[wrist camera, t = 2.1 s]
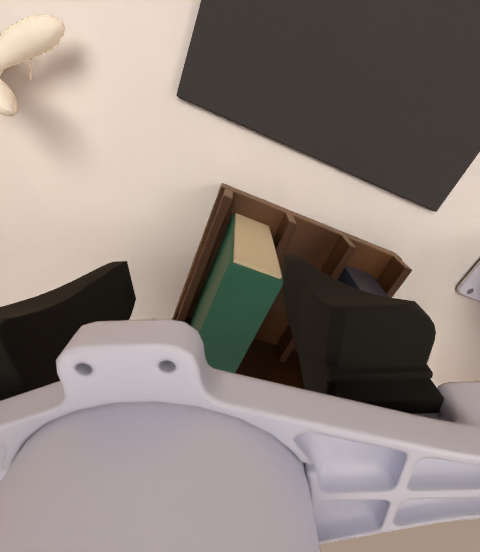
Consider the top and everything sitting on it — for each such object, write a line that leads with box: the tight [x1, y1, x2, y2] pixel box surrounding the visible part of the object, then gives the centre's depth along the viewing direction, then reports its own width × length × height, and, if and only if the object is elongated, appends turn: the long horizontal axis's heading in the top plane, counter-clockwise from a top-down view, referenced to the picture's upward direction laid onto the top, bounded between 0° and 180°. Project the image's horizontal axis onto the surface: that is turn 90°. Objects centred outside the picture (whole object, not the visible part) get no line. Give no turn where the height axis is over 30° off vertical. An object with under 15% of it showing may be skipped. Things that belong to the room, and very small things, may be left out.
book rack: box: [172, 183, 412, 389], centre depth 23 cm, size 15×12×7 cm
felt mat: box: [177, 0, 480, 212], centre depth 19 cm, size 20×12×1 cm, turn 68°
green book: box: [190, 213, 283, 373], centre depth 21 cm, size 3×9×8 cm, turn 158°
